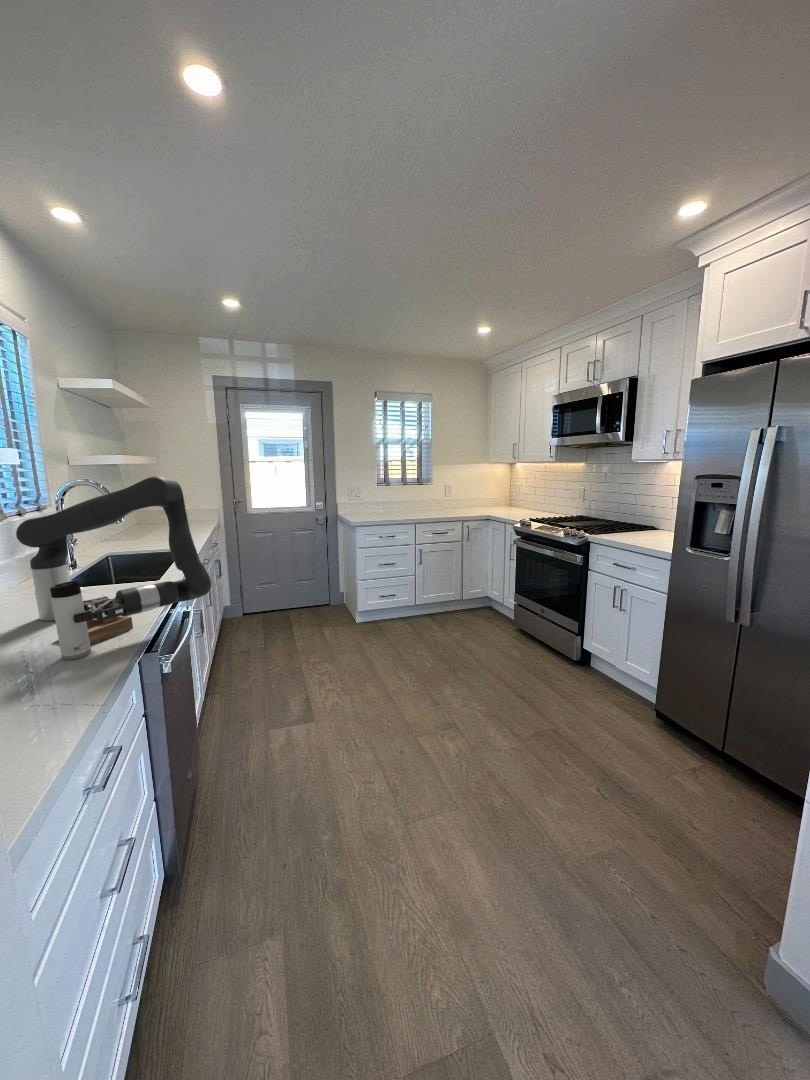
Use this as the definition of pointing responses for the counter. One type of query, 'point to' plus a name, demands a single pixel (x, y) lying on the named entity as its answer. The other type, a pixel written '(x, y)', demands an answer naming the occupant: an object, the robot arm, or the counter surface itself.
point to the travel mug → (70, 620)
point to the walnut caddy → (107, 627)
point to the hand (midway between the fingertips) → (69, 615)
